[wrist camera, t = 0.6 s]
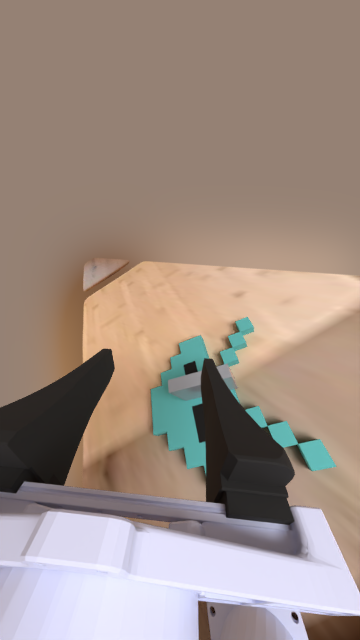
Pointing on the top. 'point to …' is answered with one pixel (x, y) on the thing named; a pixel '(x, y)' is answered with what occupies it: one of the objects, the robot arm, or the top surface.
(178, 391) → the tile
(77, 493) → the robot arm
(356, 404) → the top surface
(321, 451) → the alien figure
